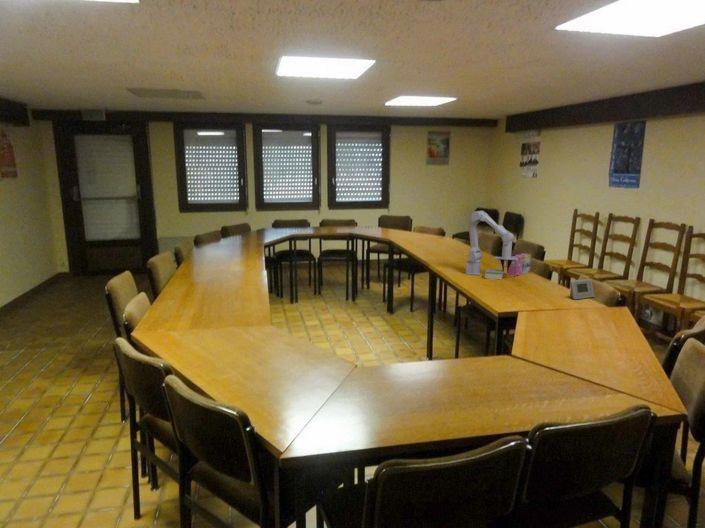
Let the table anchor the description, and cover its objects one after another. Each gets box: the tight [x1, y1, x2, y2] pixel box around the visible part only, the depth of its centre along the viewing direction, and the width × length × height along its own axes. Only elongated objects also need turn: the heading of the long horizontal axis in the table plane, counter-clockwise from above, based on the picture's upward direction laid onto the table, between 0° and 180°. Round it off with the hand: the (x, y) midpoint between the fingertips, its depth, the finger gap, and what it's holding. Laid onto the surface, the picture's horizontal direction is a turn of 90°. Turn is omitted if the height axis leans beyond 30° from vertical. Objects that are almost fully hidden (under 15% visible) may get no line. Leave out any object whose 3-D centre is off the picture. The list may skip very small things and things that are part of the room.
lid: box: [485, 265, 507, 275], centre depth 323 cm, size 14×9×4 cm, turn 74°
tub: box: [484, 269, 503, 280], centre depth 324 cm, size 11×8×4 cm
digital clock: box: [569, 278, 595, 300], centre depth 277 cm, size 16×9×11 cm, turn 103°
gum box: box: [505, 251, 532, 277], centre depth 338 cm, size 24×8×14 cm, turn 135°
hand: (505, 271), depth 321 cm, fingers closed on lid, 2 cm apart
